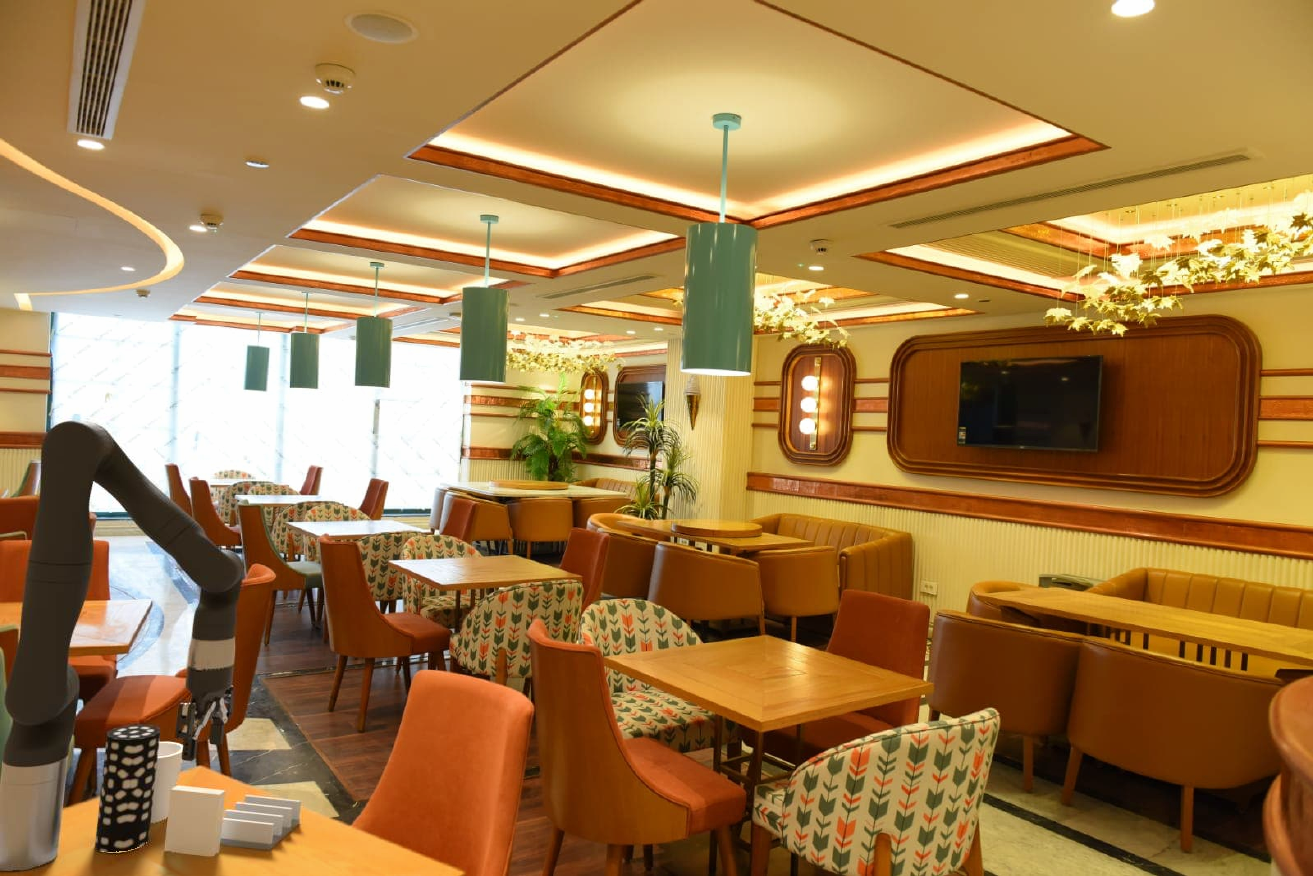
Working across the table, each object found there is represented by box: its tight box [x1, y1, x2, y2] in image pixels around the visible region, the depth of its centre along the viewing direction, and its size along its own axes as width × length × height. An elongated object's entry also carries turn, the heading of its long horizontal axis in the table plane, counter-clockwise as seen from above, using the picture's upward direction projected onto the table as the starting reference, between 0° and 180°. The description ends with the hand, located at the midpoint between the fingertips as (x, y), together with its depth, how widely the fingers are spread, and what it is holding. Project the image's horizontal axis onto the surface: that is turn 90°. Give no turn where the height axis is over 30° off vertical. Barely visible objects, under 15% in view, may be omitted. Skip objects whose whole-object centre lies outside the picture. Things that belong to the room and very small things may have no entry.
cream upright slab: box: [163, 784, 226, 857], centre depth 154 cm, size 9×2×11 cm, turn 87°
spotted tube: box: [94, 724, 161, 852], centre depth 155 cm, size 8×8×20 cm
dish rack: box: [220, 794, 302, 851], centre depth 163 cm, size 11×12×4 cm
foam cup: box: [151, 741, 185, 824], centre depth 166 cm, size 10×9×13 cm
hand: (202, 752), depth 155 cm, fingers open, 8 cm apart
